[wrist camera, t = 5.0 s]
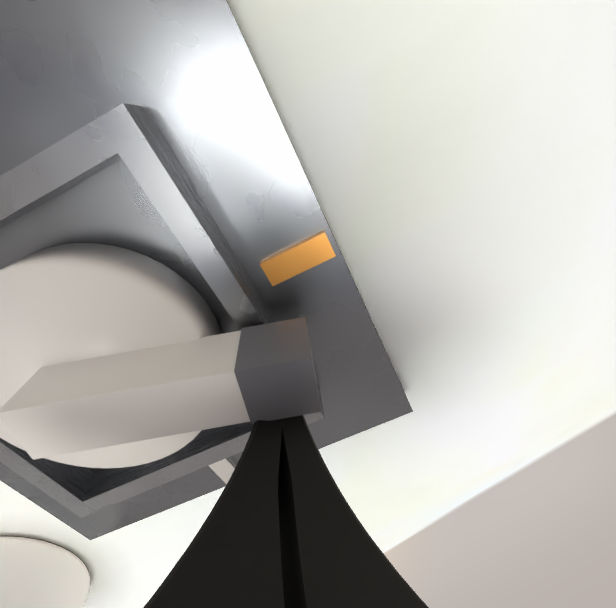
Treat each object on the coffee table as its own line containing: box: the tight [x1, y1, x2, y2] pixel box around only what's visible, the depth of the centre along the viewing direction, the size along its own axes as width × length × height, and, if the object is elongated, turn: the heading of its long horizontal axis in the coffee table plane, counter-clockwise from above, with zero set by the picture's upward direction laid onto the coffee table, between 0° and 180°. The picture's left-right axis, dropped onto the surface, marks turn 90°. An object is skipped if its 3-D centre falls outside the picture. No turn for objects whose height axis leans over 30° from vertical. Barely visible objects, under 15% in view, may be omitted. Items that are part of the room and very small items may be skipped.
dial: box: [0, 243, 321, 468], centre depth 11 cm, size 11×8×4 cm
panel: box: [0, 0, 413, 540], centre depth 13 cm, size 18×18×3 cm
